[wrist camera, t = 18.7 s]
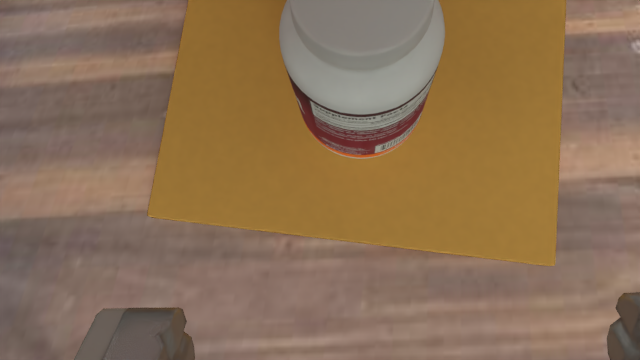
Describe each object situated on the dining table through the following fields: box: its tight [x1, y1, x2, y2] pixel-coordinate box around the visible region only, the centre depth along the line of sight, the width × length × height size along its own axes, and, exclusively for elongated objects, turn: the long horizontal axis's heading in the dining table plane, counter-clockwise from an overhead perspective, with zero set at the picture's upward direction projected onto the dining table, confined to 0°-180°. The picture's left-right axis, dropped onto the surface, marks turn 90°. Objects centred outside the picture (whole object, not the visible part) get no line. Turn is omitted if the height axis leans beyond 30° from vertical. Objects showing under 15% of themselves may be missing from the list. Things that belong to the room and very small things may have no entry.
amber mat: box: [147, 0, 566, 266], centre depth 28 cm, size 20×14×1 cm
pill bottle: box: [279, 0, 445, 159], centre depth 22 cm, size 6×6×11 cm
